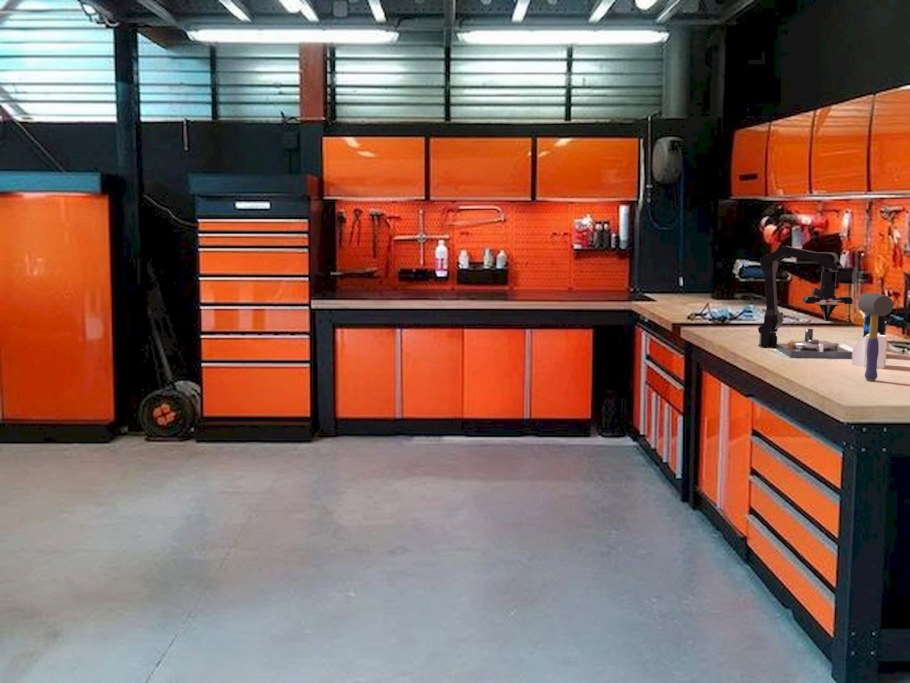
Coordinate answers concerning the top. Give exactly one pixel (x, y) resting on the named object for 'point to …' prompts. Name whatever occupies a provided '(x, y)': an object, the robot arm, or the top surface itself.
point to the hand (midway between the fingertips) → (826, 320)
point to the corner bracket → (861, 349)
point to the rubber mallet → (874, 327)
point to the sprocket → (812, 342)
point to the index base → (813, 352)
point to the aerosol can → (880, 324)
